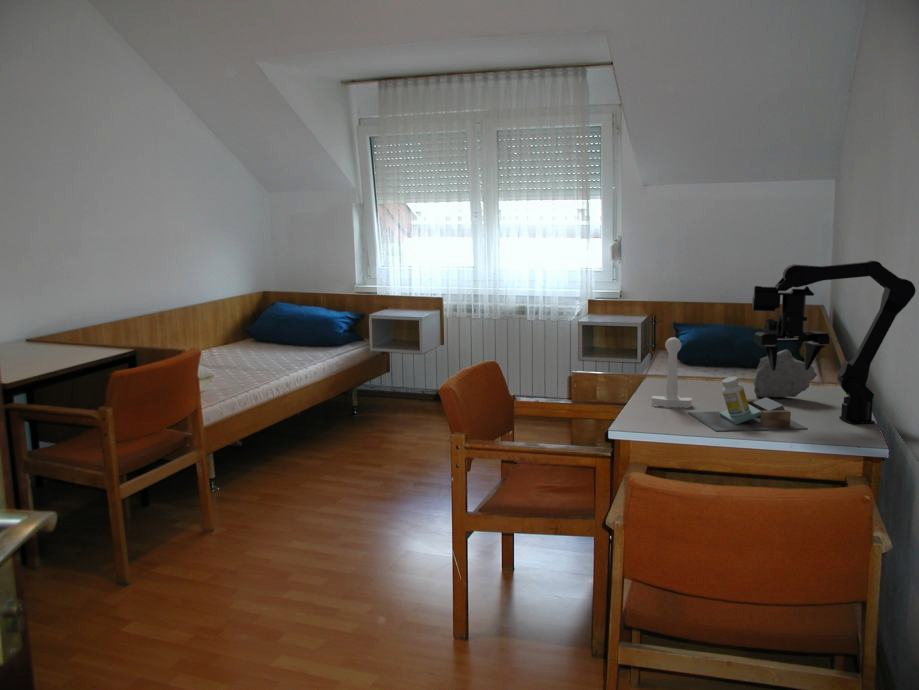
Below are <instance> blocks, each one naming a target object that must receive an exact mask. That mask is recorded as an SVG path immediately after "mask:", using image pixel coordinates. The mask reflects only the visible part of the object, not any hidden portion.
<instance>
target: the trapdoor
mask: <svg viewBox="0 0 919 690" xmlns="http://www.w3.org/2000/svg"><path fill="white" fill-rule="evenodd" d="M759 399H760V400H757V401H755V402H752V403H753V406H754V407H753V406H751V405H749V404H748V405H749V409H750V410H749V412H748V413H746V414H744V415H741V416H731V415H730V414H729V412H728V408H727V409H725V410H722V411H718V412H719V414H720V416H721V417H723V418H725V419H726V420H728V421H729V422H731V423H733V424H734V425H736V424H739V423H742V422H744V421H747V420H750V419H752V418H755V417H758V416H760V415H761V411H767V410H785V406H784V405H783V404H781V403H779V402H778V401H775V400H773V399H771V398H770V397H762V398H759Z"/></svg>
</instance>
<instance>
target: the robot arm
mask: <svg viewBox="0 0 919 690" xmlns="http://www.w3.org/2000/svg"><path fill="white" fill-rule="evenodd" d="M863 277H864V278H865V277H870V278H871V279H873V280H874V281H875V282H876V284H878V285H879V286H881V287H882V288H884V290H883V292H882V296H881V301H880V306H879V309H878V311H877V313H876V315H875V316H874V319H873V321H872V323H871V324H870V326H869V329H868V330H867V332H866V335H865V336H864V337H863V340H862V342H861V344H860V346H859V348H858V349H857V351H856V353H855V355H854V357H852V358H851V360H849V362H848V361H847V360H845V359H843V361H842V363H841V367H840V369H839V370H838V371H837V372H836V374H837V383H838V385H839V386H840V388H841V389H842V391H843V392H845V394H846V395H847V396H844V397H843V402H842V403H841V409H840V411H841V414H840V415H839V419H840V420H842V421H845V422H846V423H849V424H855V425H857V424H859V425H860V424H875V423H876V421H875V420H873V419H872V417H873V408H874V407H873V404H874V396H875V394H874V393H873V391H871V390H870V388H868V387H867V386H866V384H867V382H868V377H869V374H870V368H871V364H872V362H873V360H874V358H875V356H876V354H877V352H878V351H879V349H880V347H881V345H882V344H883V341H884V340H885V338H886V335H887V334H888V332H889V330H890V328H891V326H892V325H893V323H894V321H895V319H896V318H897V316H898V314H900V312H901V311H903V309H905V307H907V305H908V304H909V303H910V301H911V300H912V299H913V298H914V296H915V294H916V291H917V290H916V286H915V284H914V283H913V282H912V281H910V280H909V279H906V278H902V277H899V276H897V275H896V274H894V273H893V272H892V271H890V270H889V269H887V268H886V267H885V266H883V264H882V263H881V262H879V261H878V260H868V261H863V262H862V261H861V262H852V263H851V262H850V263H843V264H842V263H840V264H831V265H830V264H829V265H810V264H809V265H808V264H796V263H794V264H790V265H788V266H787V267H786V268H784V271H783V272H782V278H781V279H780V280H779V281H778V282H777V283H776V284H775V286H761V285H754V288H753V289H754V290H753V296H752V307H751V309H752V312H767V313H768V312H770V313H771V312H772V313H774V312H775V311H776V310H777V309H780V307H781V314H779V315H778V319H777V320H776V321H775V320H774V318H767V319H765V321H764V331H756V332H755V334H754V335H753V343H755V344H757V345H758V346H759V347H762V348H763V350H764V351H765V354H766V356H768V359H769V362H770V365H771V369H772V370H773V371H775V368H776V361H777V353H778V352H779V350H778V346H779V345H776V344H777V343H781V342H782V343H783V342H785V343H787V342H788V343H789V342H792V343H793V342H804V345H805V348H806V349H805V358H804V363H805V369H806V370H808V369H809V368H810V366H812V364H813V362H814V360H815V359H816V358H817V355H818V354H819V352H821V350H822V349H823V348H826V345H830V344H831V338H832V337H831V335H830V334H829V333H828V332H823V331H818V330H816V331H815V330H814V331H813V330H812V331H807V332H806V331H805V322H807V321H808V317H807V316H806V298H807V297H813V296H815V293H814V292H813V291H812V290H811V289H810V287H809V285H812V284H815V283H818V282H823V281H833V280H841V279H842V280H843V279H854V278H863ZM804 286H805V287H804ZM800 287H803V288H800ZM790 289H791V291H790V292H789V291H788V290H790ZM786 291H788V292H786ZM781 296H782V300H781ZM781 301H782V302H781Z"/></svg>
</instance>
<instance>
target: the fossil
mask: <svg viewBox="0 0 919 690" xmlns="http://www.w3.org/2000/svg"><path fill="white" fill-rule="evenodd" d="M817 376H818V374H817V373H816V371H815V368H814V367H813V366H812V365H811V366H810V368H809V369H808V370H806V369H805V362H803V361H801V360H799V359H796V358H795V356H792V352H791V351H790V350H788V349H783V350H780V351H777V361H776V368H775V371H773V370H772V369H771V365H770V362H769V359H768V356H767V355H766V356H764V357H761V358H759V363H758V366H757V368H756V373H755V377H753V385H754V389H753V391H754V394H755V397H756V398H765V397H767V398H774V397H775V398H776V397H777V398H787V397H788V398H795V397H796V398H797V396H799V394H801V393H802V392H804V391H806V390H807V389H808V388H810V382H811V381H813V380H814V379H815V378H816V377H817Z"/></svg>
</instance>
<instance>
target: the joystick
mask: <svg viewBox="0 0 919 690" xmlns="http://www.w3.org/2000/svg"><path fill="white" fill-rule="evenodd" d="M664 345H665V346H664V347H665V349H666V350H667V353H668V360H667V361H668V363H667V373H666V385H665V394H664V395H665V396H659V395H652V396H651V401H650V402H651V406H652V405H657V406H656V407H658V406H665V407H664V408H669V407H684V408H683V409H689V408H688V407H691V408H692V405H693V404H692V401H693V398H692V397H680V395H679V386H678V385H679V383H678V353H679V352H680V350H681V348H682V341H680V339H679V338H677V337H674V336H673V337H670V338H668V339H667V340H666V341H665V344H664Z"/></svg>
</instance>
